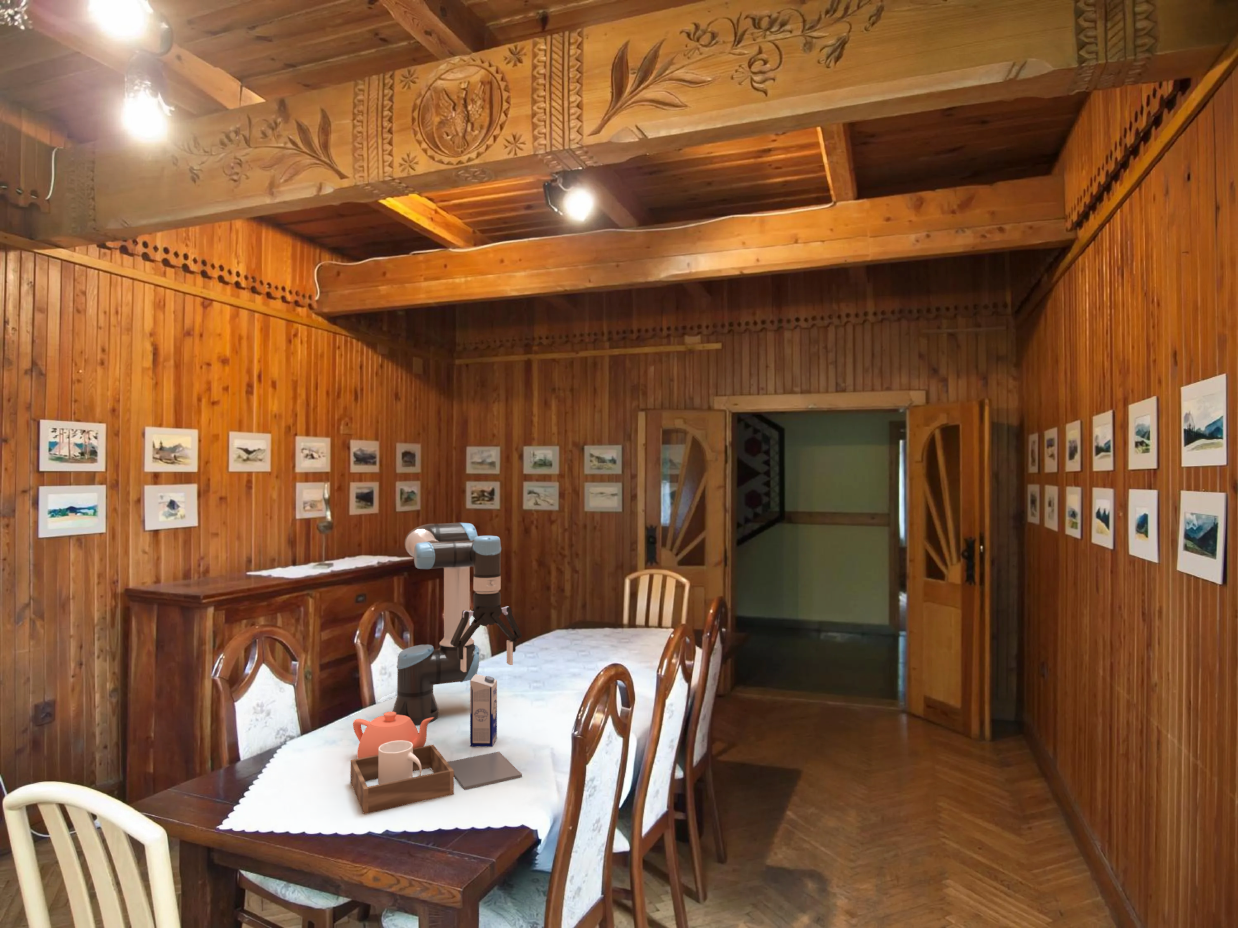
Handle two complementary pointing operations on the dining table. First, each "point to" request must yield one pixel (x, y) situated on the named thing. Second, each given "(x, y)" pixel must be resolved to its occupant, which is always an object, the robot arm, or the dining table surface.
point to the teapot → (388, 732)
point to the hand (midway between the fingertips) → (486, 667)
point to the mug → (396, 761)
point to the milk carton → (483, 711)
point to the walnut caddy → (402, 782)
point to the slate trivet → (483, 770)
